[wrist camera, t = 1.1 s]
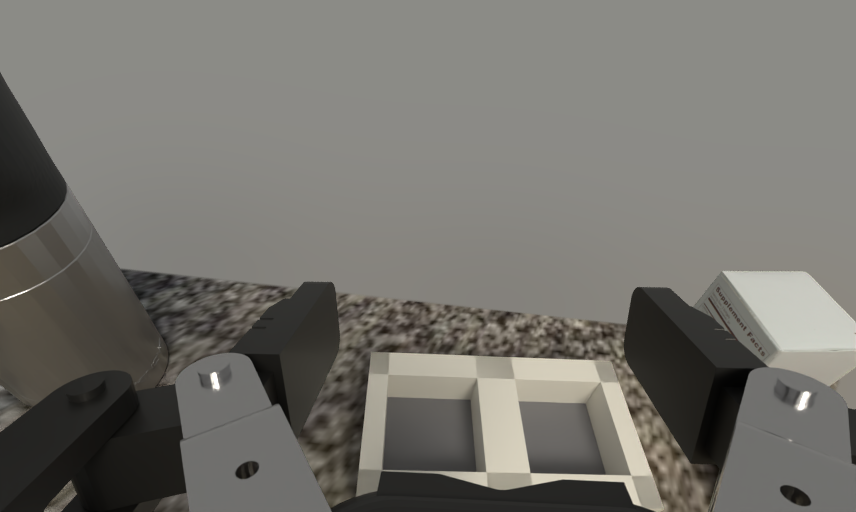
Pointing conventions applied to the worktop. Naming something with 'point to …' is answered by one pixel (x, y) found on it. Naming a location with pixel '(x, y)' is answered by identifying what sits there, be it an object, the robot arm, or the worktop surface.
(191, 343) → the worktop surface
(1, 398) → the worktop surface
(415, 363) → the divided compartment tray
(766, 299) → the supplement box
